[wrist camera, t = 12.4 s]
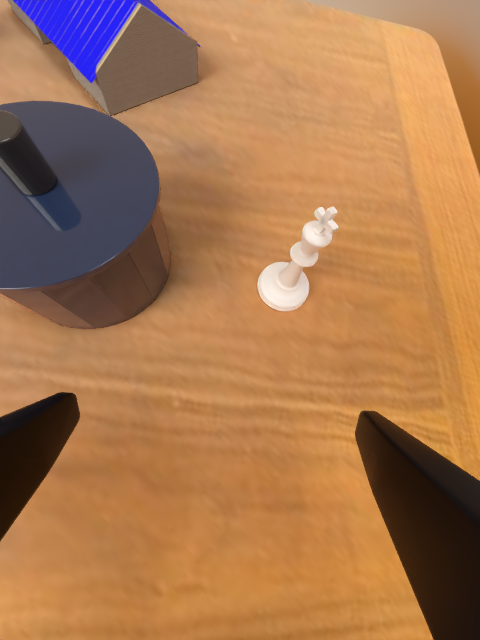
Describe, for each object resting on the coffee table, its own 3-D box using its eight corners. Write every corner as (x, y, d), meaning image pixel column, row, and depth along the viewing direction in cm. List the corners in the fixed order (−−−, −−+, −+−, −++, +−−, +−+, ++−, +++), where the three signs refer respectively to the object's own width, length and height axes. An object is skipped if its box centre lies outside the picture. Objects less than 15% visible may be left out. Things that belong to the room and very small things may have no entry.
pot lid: (147, 306, 14) (123, 268, 10) (-138, 288, 12) (-298, 235, 8) (172, 133, 18) (163, 60, 14) (-35, 105, 17) (-108, 15, 13)
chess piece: (288, 257, 25) (337, 167, 15) (317, 296, 24) (389, 226, 14) (247, 278, 23) (274, 193, 14) (276, 320, 22) (326, 260, 13)
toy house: (7, 12, 31) (-50, -99, 24) (107, -9, 35) (82, -109, 28) (104, 118, 28) (69, 22, 21) (202, 80, 32) (201, -10, 25)
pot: (162, 332, 21) (136, 292, 13) (-4, 324, 19) (-137, 274, 12) (176, 212, 25) (163, 128, 17) (41, 198, 23) (-38, 101, 16)
